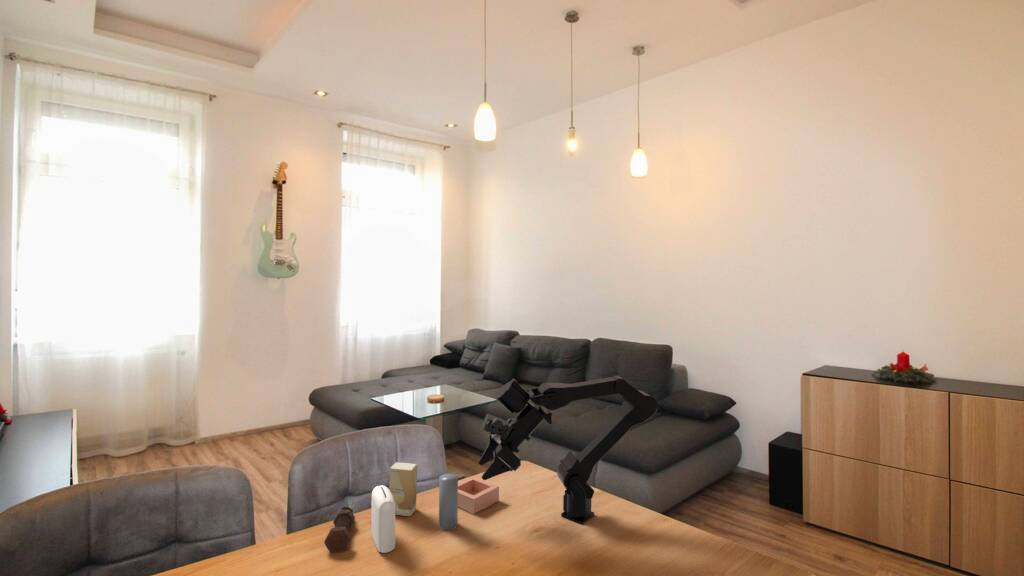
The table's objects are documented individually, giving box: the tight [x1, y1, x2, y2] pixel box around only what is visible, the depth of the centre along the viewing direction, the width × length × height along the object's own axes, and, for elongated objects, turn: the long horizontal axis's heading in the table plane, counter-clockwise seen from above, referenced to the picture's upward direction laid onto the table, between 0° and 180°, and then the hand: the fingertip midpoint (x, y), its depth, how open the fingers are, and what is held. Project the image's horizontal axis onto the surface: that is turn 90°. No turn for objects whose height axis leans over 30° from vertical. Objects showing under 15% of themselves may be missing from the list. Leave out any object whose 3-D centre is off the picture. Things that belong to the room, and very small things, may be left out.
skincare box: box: [388, 461, 418, 517], centre depth 128 cm, size 6×4×12 cm
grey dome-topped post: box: [438, 473, 459, 531], centre depth 121 cm, size 5×5×12 cm
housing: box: [458, 476, 500, 515], centre depth 134 cm, size 10×10×4 cm
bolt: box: [323, 506, 356, 554], centre depth 117 cm, size 6×5×15 cm
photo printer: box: [370, 484, 396, 554], centre depth 113 cm, size 10×4×12 cm, turn 26°
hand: (481, 471), depth 122 cm, fingers open, 9 cm apart
